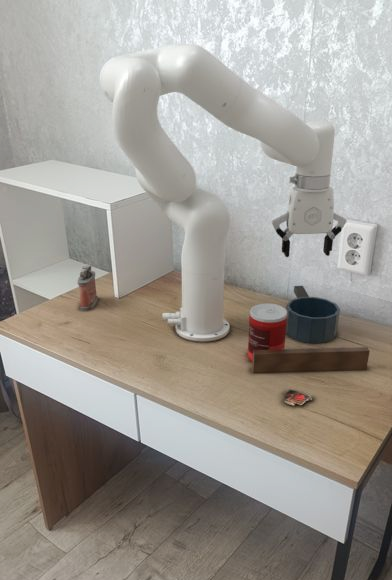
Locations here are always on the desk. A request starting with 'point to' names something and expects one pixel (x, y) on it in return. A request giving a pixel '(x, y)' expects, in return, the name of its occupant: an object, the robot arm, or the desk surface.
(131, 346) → the desk surface
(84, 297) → the lighter
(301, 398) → the mottled red brown piece
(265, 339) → the canned food
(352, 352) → the wooden board
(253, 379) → the desk surface
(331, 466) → the desk surface
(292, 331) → the saucepan
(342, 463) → the desk surface
